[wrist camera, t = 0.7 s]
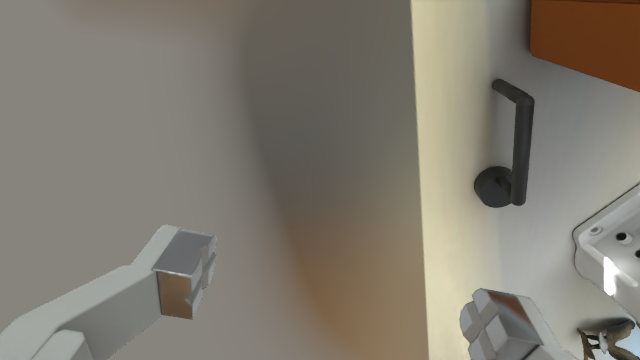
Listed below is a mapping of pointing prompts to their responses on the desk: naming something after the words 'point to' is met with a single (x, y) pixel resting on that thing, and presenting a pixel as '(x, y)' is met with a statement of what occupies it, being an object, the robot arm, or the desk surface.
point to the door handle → (500, 182)
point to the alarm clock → (589, 37)
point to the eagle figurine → (610, 342)
